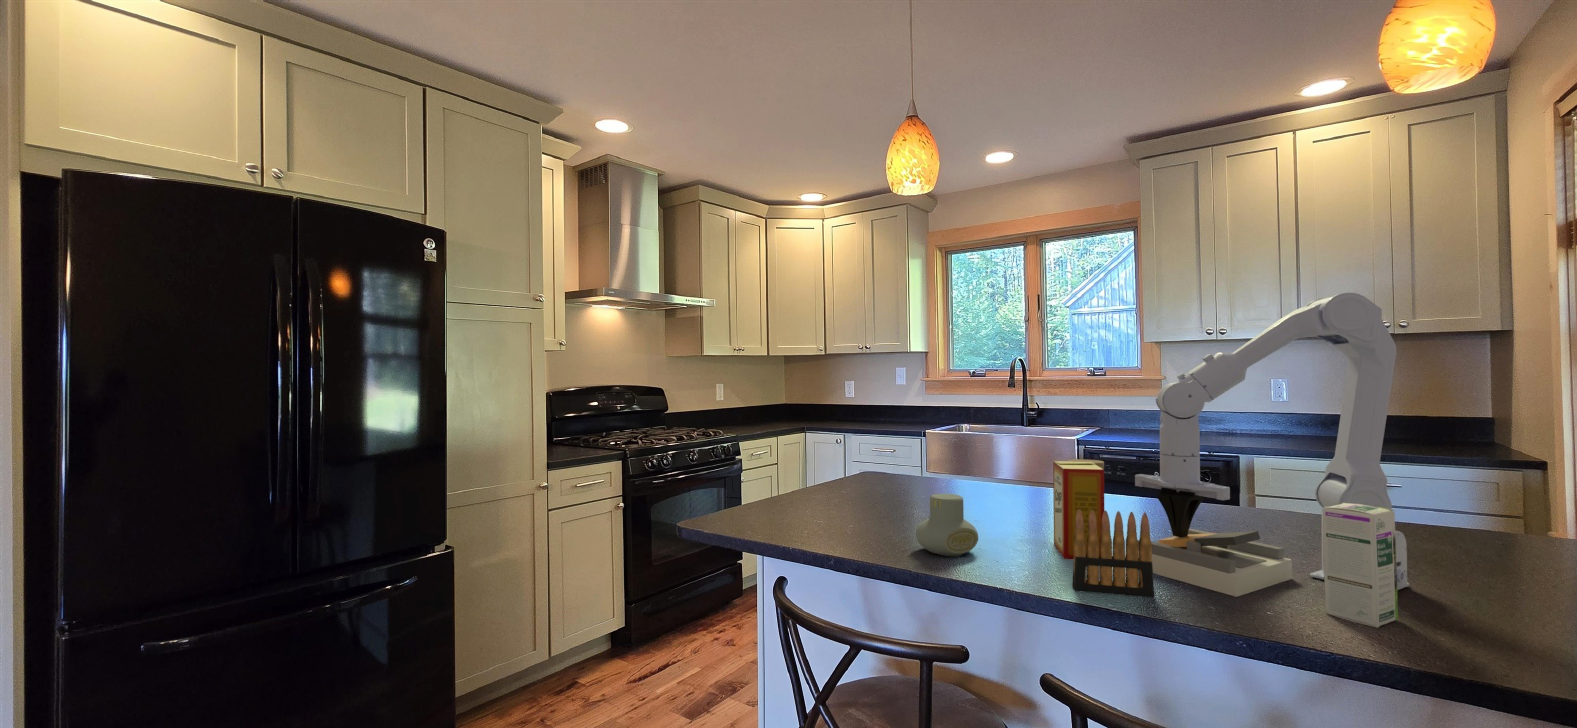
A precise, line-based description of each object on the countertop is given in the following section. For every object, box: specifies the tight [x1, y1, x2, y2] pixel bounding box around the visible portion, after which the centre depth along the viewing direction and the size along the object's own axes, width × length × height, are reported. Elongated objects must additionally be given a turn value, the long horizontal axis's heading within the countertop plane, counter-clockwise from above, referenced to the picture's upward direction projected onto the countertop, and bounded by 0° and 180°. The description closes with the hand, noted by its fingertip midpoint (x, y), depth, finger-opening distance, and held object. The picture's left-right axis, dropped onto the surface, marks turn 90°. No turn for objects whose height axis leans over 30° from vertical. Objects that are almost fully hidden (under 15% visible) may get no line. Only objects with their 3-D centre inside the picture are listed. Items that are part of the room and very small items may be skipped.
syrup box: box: [1321, 503, 1399, 629], centre depth 85 cm, size 6×6×14 cm
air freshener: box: [915, 493, 979, 558], centre depth 117 cm, size 11×8×10 cm
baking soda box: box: [1052, 460, 1105, 561], centre depth 116 cm, size 10×6×16 cm
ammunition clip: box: [1071, 509, 1155, 599], centre depth 95 cm, size 11×2×12 cm, turn 74°
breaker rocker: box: [1157, 530, 1261, 547], centre depth 104 cm, size 12×7×1 cm, turn 29°
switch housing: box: [1137, 528, 1293, 598], centre depth 104 cm, size 16×16×6 cm
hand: (1180, 535), depth 108 cm, fingers closed
